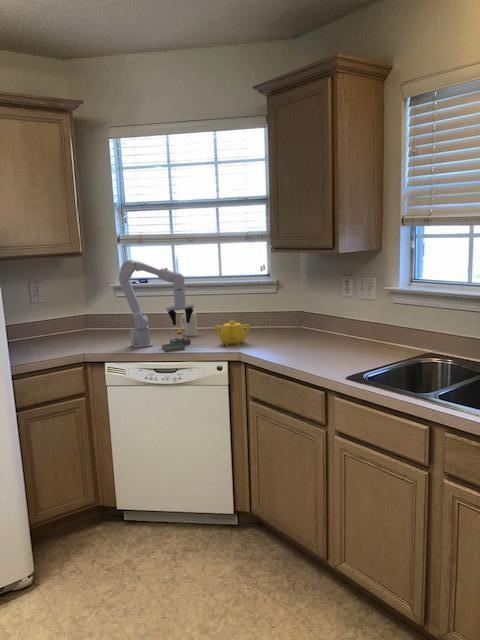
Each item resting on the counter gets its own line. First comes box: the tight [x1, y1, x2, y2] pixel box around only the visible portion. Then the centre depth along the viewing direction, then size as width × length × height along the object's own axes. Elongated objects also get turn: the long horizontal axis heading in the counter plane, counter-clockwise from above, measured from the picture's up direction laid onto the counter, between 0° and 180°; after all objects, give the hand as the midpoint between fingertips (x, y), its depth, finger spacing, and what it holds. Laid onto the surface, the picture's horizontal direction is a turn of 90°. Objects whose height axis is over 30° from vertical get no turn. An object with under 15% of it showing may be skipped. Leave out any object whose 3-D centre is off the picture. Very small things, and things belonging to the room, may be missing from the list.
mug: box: [179, 312, 198, 337], centre depth 300 cm, size 10×7×12 cm, turn 63°
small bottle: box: [176, 329, 184, 341], centre depth 278 cm, size 3×3×7 cm
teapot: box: [214, 320, 251, 347], centre depth 273 cm, size 14×14×12 cm
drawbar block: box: [169, 336, 192, 346], centre depth 279 cm, size 9×7×2 cm
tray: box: [161, 343, 186, 353], centre depth 269 cm, size 9×9×2 cm
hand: (181, 323), depth 279 cm, fingers open, 7 cm apart
